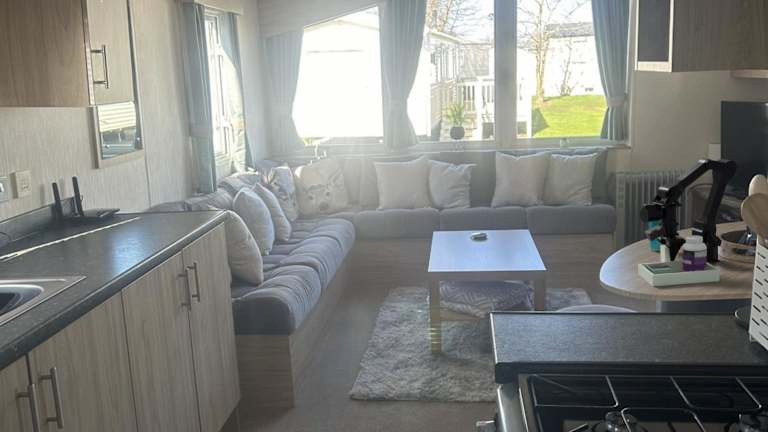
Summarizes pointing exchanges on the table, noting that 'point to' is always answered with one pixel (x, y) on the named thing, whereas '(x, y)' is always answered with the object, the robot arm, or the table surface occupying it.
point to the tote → (678, 275)
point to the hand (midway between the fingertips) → (669, 259)
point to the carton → (666, 254)
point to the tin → (658, 268)
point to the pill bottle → (694, 254)
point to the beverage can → (655, 244)
